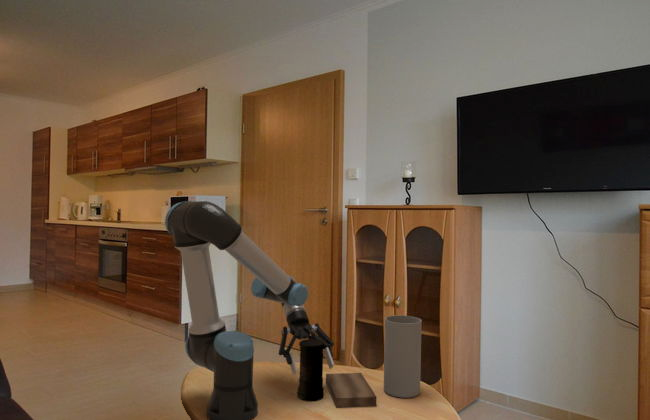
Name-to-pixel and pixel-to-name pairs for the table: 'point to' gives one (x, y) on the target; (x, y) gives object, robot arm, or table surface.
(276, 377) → the table surface
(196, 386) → the table surface
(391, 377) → the cylinder vase
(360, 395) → the shelf board
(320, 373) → the container
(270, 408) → the table surface
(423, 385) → the table surface
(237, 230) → the robot arm
